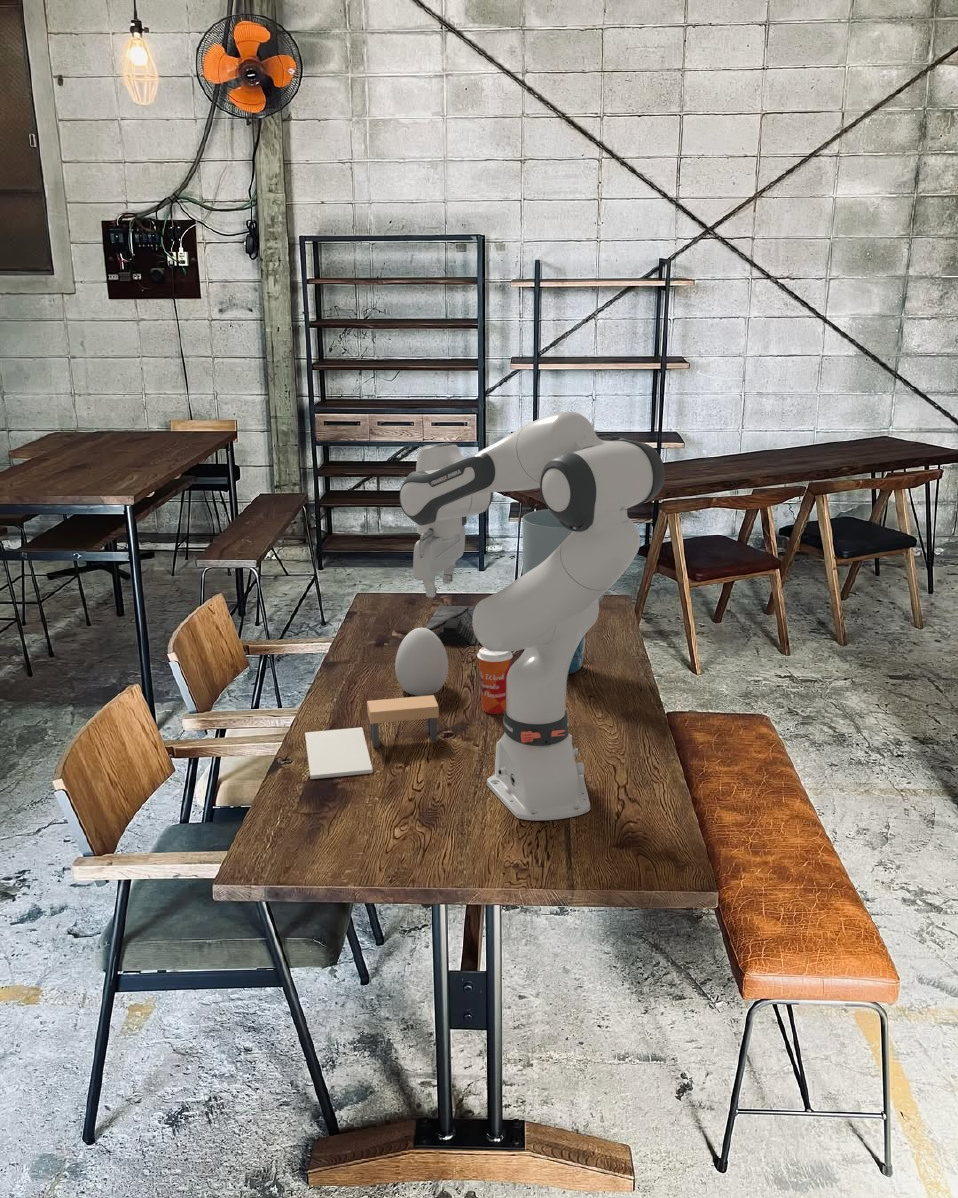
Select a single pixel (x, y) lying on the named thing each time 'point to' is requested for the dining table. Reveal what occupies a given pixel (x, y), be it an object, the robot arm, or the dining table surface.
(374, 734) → the bench model
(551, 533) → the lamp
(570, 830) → the dining table surface
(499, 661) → the paper cup
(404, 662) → the decorative egg
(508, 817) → the dining table surface
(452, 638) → the architectural model
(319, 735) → the felt mat
